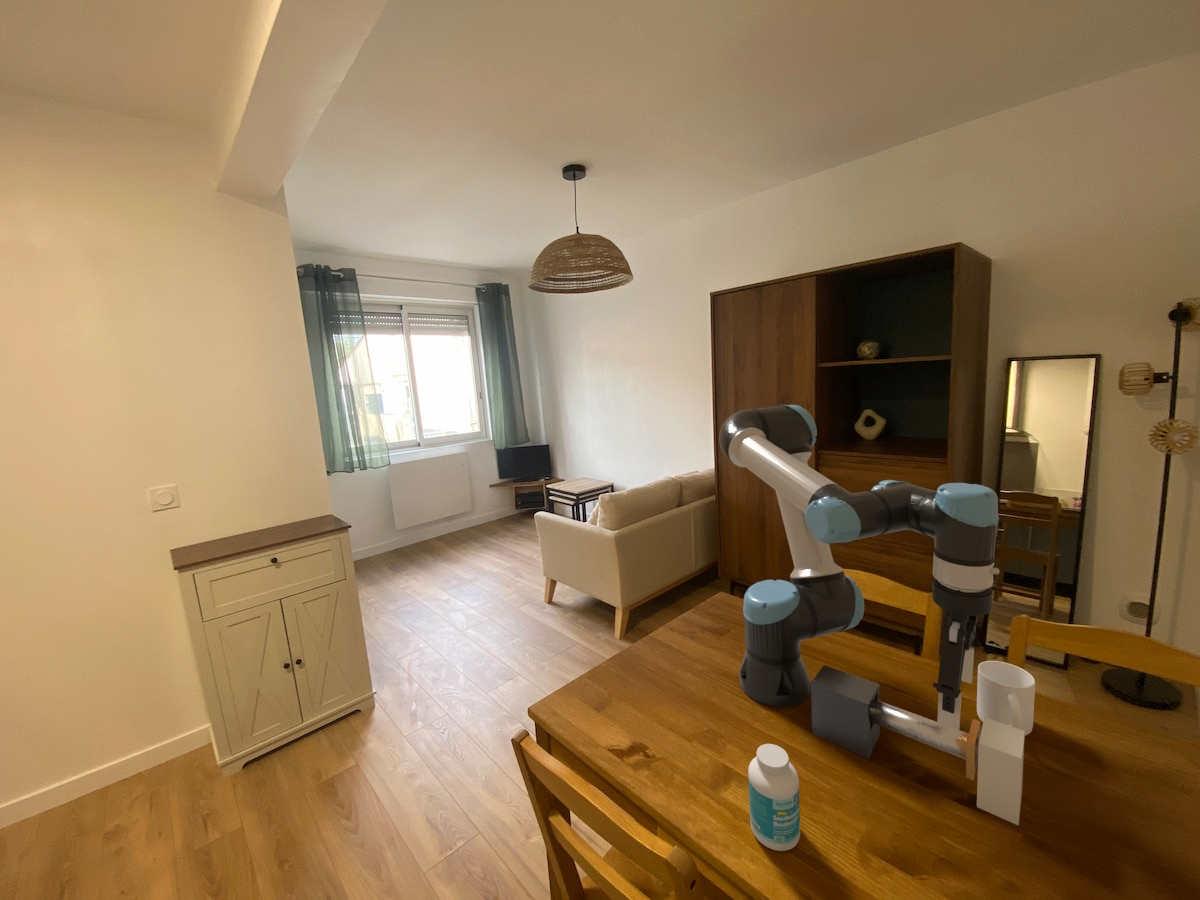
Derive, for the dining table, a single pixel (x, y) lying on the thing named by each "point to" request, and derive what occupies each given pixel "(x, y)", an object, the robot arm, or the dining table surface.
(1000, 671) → the mug
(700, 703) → the dining table surface
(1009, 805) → the socket block
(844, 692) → the sleeve
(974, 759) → the tube
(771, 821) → the pill bottle
